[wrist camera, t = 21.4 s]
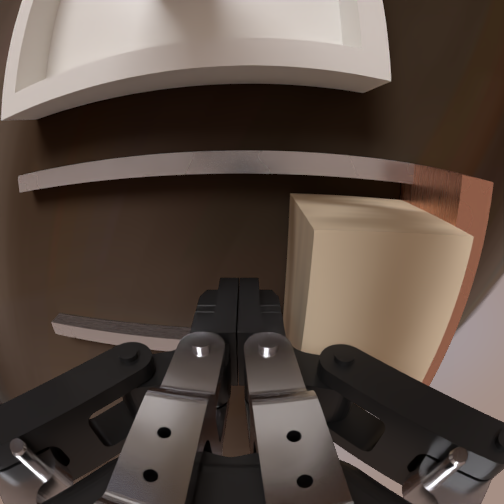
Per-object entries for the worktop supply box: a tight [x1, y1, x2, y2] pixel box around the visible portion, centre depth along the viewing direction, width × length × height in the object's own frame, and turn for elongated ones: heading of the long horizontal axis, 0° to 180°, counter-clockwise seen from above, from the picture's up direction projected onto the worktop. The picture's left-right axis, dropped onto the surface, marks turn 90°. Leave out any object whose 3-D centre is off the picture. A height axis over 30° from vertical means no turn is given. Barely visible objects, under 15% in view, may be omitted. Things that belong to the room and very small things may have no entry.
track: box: [18, 150, 493, 386], centre depth 12 cm, size 24×11×5 cm, turn 90°
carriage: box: [283, 193, 474, 382], centre depth 12 cm, size 6×7×6 cm
